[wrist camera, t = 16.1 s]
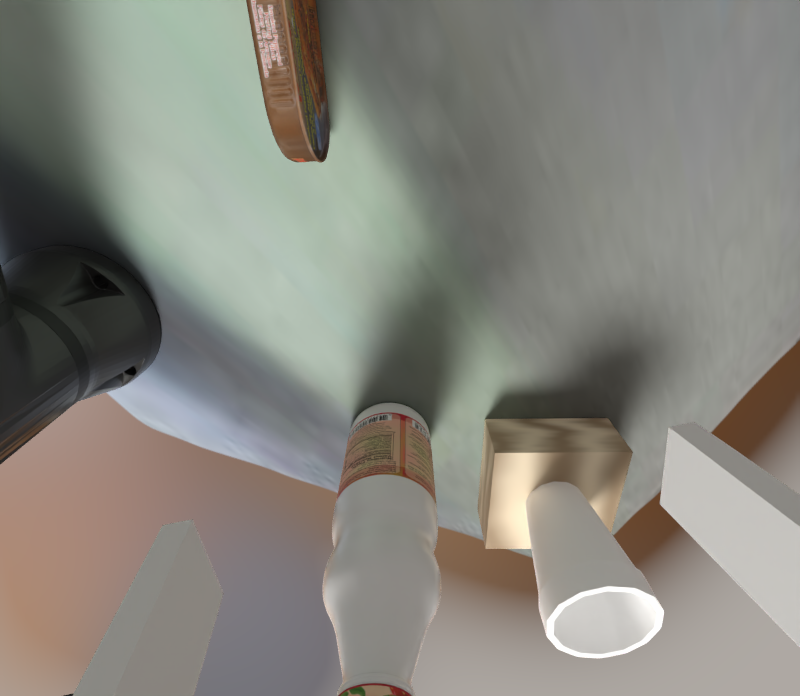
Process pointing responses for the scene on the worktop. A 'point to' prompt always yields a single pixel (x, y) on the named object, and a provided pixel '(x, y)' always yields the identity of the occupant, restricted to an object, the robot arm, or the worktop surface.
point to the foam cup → (586, 578)
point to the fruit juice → (383, 552)
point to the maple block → (546, 470)
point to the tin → (292, 75)
